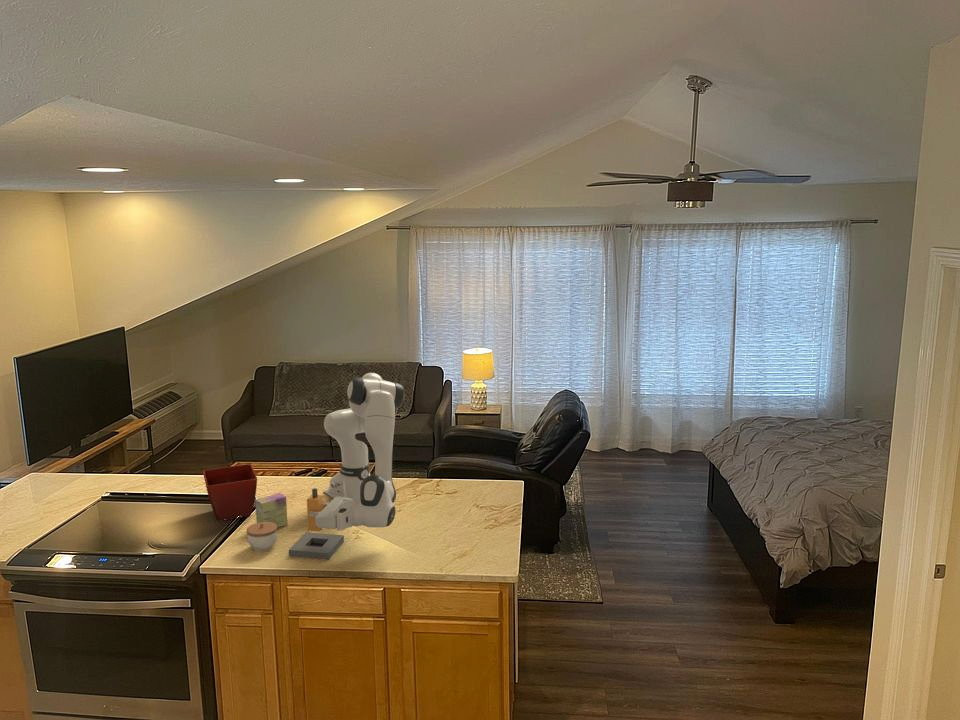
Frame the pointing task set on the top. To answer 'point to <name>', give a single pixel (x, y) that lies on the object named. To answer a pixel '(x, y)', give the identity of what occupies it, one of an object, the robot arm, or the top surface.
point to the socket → (316, 546)
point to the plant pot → (231, 490)
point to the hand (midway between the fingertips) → (313, 510)
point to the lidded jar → (262, 535)
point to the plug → (315, 504)
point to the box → (272, 509)
